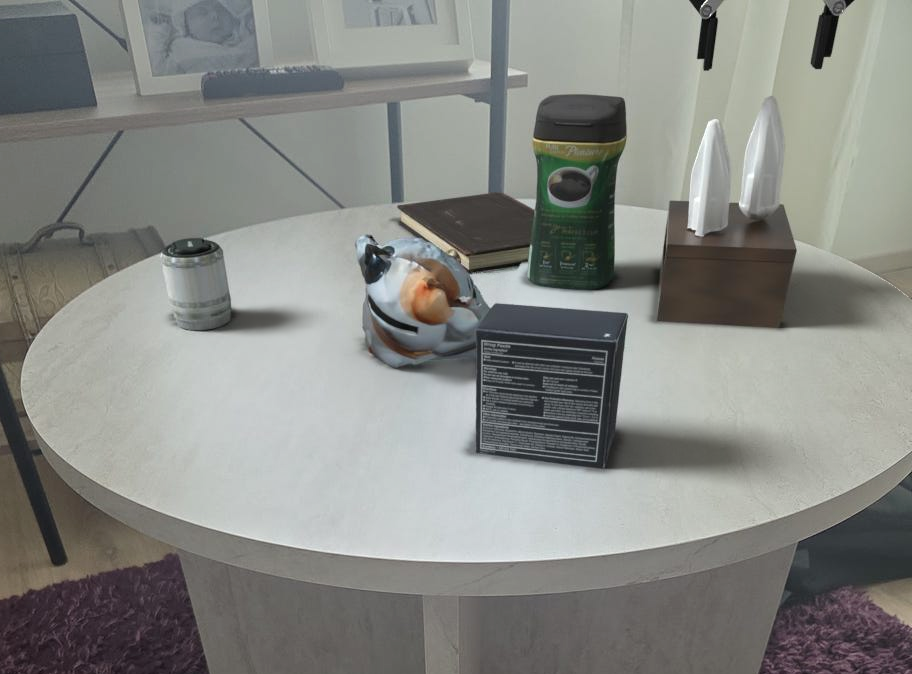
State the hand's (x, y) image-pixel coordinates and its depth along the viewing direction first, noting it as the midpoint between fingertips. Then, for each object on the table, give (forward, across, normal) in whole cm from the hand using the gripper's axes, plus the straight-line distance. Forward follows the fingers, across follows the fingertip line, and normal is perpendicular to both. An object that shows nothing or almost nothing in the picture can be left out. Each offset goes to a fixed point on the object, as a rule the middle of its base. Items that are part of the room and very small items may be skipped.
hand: (760, 67), depth 84 cm
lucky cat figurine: (+21, +28, +19) cm, 40 cm away
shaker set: (+14, 0, 0) cm, 14 cm away
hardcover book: (+21, +29, -19) cm, 41 cm away
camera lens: (+21, +54, +14) cm, 59 cm away
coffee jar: (+21, +17, -4) cm, 28 cm away
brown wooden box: (+22, +1, 0) cm, 22 cm away
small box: (+22, +15, +36) cm, 44 cm away
